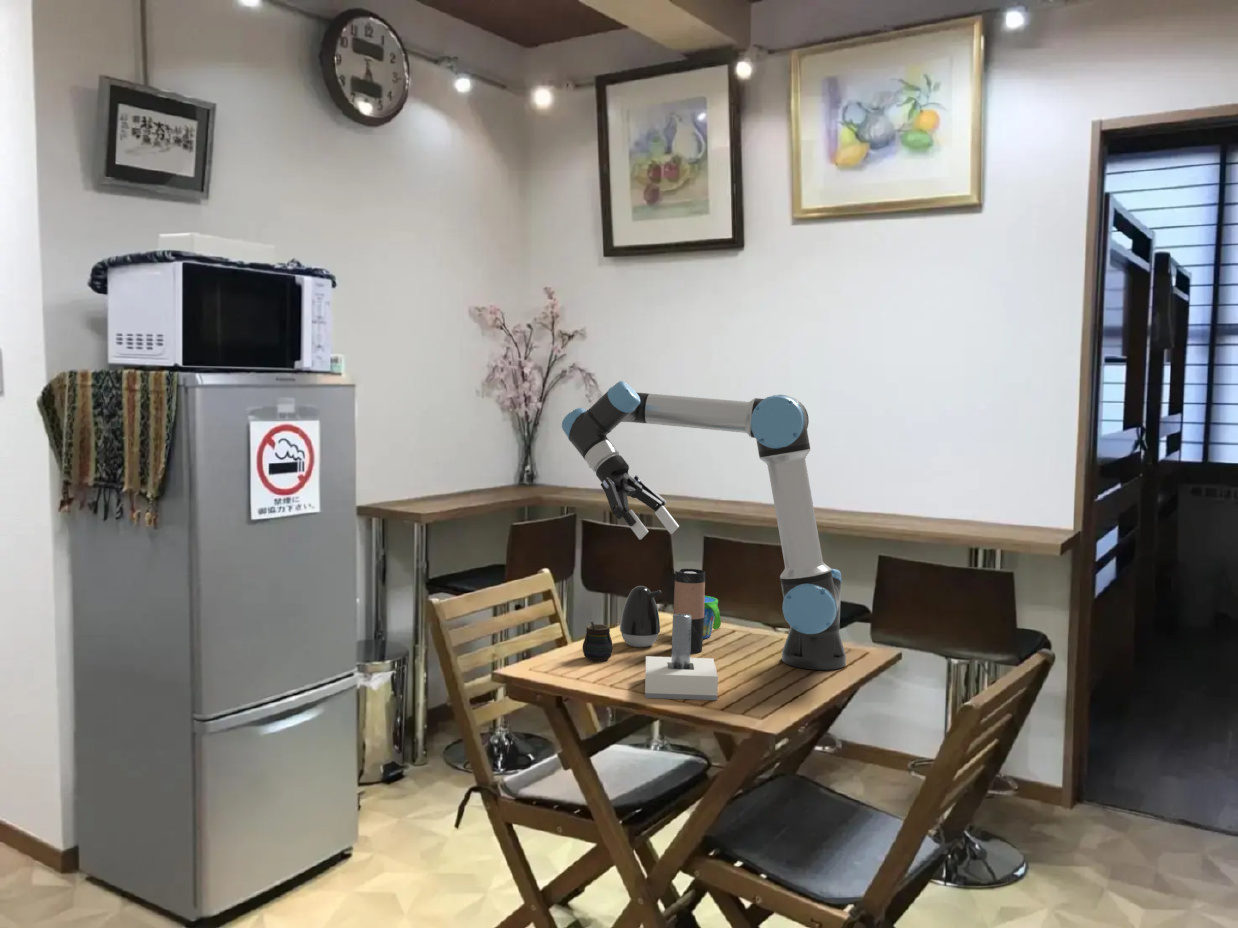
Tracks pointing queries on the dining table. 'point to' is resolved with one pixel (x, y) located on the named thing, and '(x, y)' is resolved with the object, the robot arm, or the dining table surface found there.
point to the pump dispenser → (640, 618)
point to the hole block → (681, 679)
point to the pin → (681, 641)
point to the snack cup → (710, 616)
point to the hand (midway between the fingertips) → (660, 533)
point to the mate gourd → (597, 642)
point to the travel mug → (691, 602)
